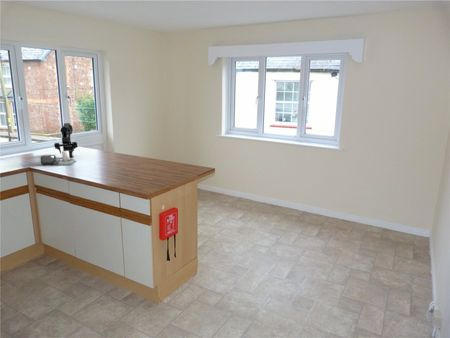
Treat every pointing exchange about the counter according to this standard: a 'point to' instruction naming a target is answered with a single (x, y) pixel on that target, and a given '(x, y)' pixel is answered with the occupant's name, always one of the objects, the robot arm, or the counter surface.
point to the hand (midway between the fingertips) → (66, 153)
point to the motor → (52, 160)
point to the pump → (65, 156)
